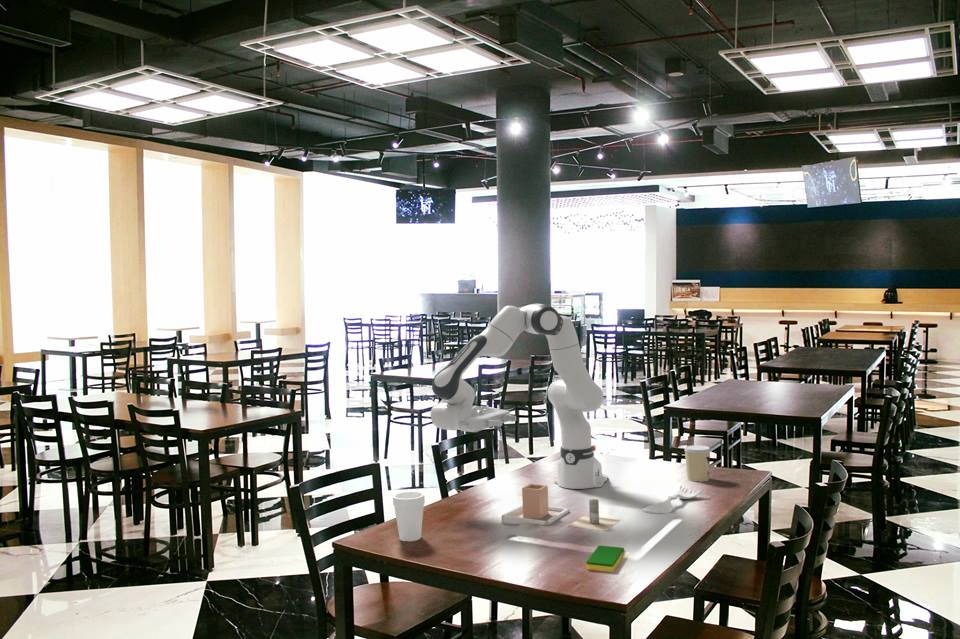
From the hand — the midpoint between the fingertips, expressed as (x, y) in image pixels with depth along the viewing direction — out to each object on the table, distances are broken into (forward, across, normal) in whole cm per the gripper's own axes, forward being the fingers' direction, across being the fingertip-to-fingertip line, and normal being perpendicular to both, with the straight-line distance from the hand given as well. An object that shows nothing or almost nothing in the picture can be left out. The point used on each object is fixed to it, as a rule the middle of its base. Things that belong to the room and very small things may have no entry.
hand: (508, 421), depth 257 cm
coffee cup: (+44, +65, +30) cm, 84 cm away
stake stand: (+32, -6, +30) cm, 44 cm away
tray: (+12, -6, +30) cm, 33 cm away
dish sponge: (+46, -32, +31) cm, 64 cm away
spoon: (+46, +27, +30) cm, 61 cm away
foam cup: (-14, -38, +30) cm, 50 cm away
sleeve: (+12, -6, +29) cm, 32 cm away
